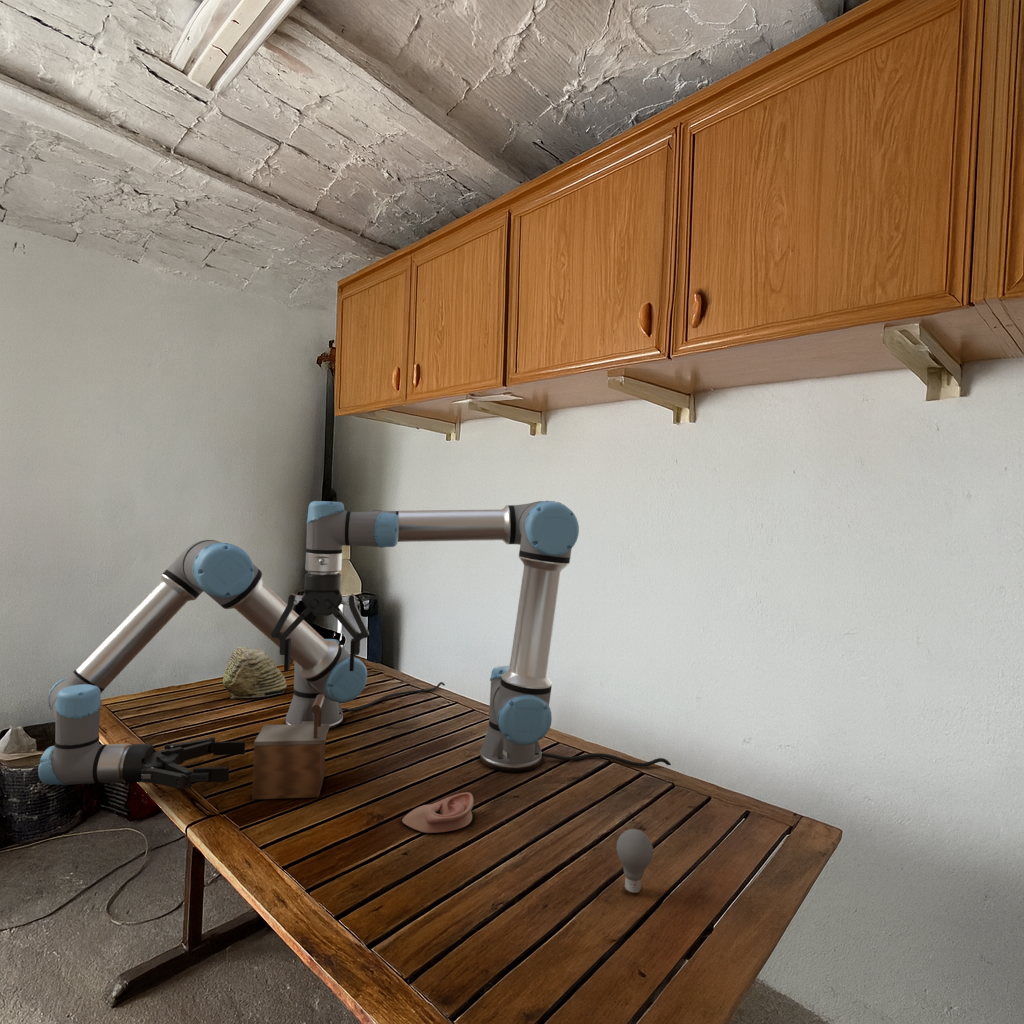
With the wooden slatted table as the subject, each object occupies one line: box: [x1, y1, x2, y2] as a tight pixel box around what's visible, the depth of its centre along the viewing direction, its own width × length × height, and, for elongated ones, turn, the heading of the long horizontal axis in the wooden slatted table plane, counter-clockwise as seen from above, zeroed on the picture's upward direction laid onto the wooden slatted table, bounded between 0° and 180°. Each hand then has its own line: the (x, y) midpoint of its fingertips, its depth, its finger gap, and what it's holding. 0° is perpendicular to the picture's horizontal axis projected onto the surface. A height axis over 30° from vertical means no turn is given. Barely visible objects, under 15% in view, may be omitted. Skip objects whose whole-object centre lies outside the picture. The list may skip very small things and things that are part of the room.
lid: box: [253, 694, 330, 747], centre depth 137 cm, size 14×10×8 cm
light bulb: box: [615, 828, 654, 894], centre depth 106 cm, size 6×6×10 cm
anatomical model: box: [401, 791, 474, 834], centre depth 126 cm, size 13×4×12 cm
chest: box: [251, 740, 327, 800], centre depth 137 cm, size 13×10×11 cm
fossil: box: [222, 646, 288, 699], centre depth 198 cm, size 9×18×15 cm, turn 132°
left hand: (237, 760), depth 135 cm, fingers open, 13 cm apart
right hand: (319, 669), depth 138 cm, fingers open, 13 cm apart
